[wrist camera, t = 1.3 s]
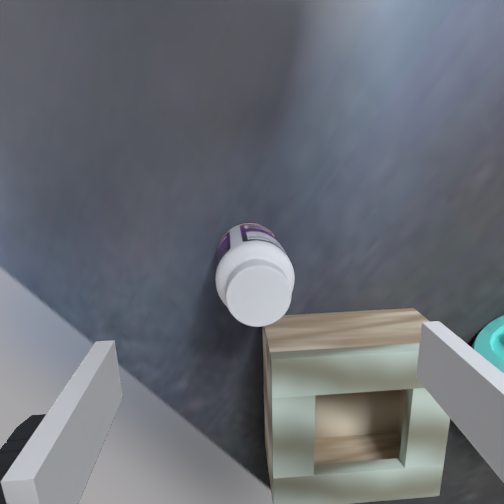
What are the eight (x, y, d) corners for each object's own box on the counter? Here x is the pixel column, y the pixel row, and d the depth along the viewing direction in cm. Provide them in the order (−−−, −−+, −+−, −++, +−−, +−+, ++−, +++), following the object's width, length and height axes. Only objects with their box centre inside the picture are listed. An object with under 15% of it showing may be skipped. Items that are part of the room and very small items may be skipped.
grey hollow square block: (262, 316, 33) (271, 359, 26) (413, 308, 34) (460, 347, 27) (265, 443, 37) (273, 510, 30) (401, 433, 37) (439, 495, 31)
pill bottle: (237, 293, 32) (242, 352, 23) (205, 242, 31) (195, 283, 21) (291, 262, 32) (318, 310, 22) (261, 209, 30) (276, 236, 21)
